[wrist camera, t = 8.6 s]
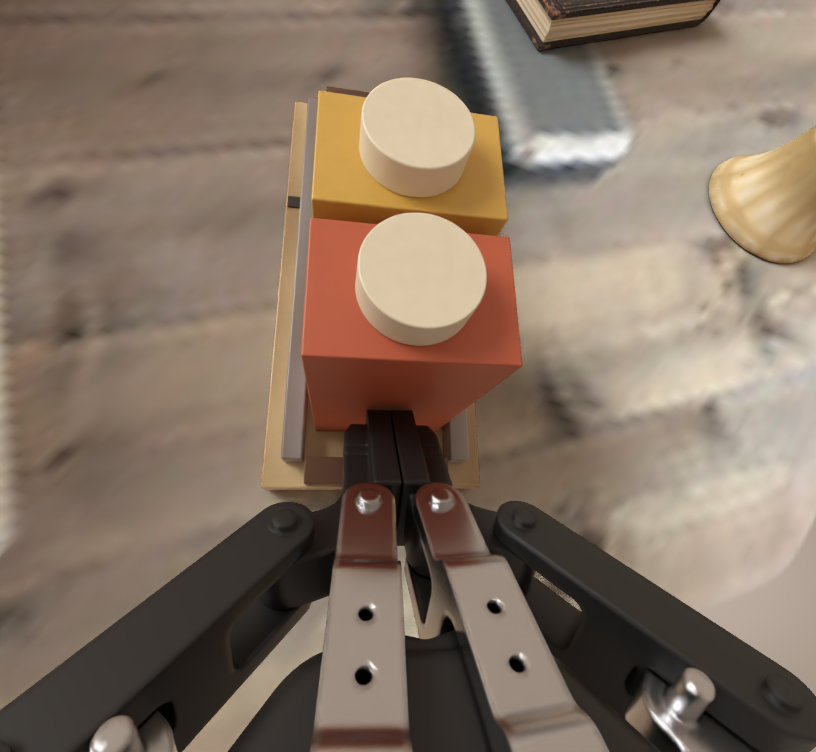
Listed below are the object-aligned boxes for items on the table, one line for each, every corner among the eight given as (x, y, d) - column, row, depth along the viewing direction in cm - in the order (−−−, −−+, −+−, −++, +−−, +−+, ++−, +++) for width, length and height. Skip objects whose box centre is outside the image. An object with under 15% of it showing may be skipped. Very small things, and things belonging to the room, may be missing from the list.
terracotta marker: (315, 431, 17) (296, 337, 8) (319, 351, 18) (307, 186, 9) (434, 433, 18) (543, 350, 9) (431, 356, 19) (527, 210, 10)
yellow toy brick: (320, 340, 19) (309, 167, 9) (324, 270, 20) (317, 50, 10) (431, 346, 19) (525, 192, 10) (429, 278, 20) (512, 82, 11)
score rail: (266, 490, 18) (255, 486, 15) (296, 124, 24) (292, 79, 21) (469, 488, 19) (490, 485, 17) (450, 145, 25) (464, 105, 23)
